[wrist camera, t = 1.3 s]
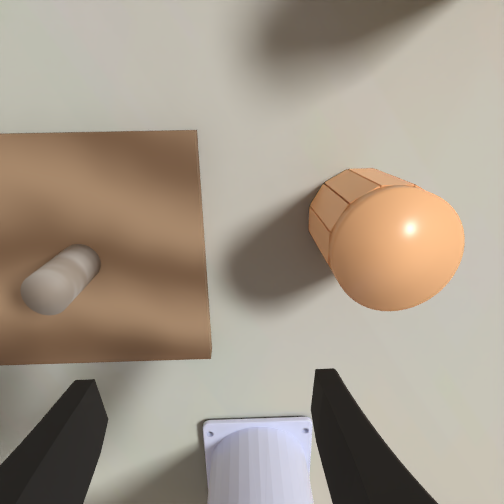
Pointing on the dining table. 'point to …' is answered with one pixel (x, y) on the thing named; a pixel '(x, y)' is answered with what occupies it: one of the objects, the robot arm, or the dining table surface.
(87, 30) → the dining table surface
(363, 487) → the robot arm
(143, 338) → the post block
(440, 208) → the wire nut cap
